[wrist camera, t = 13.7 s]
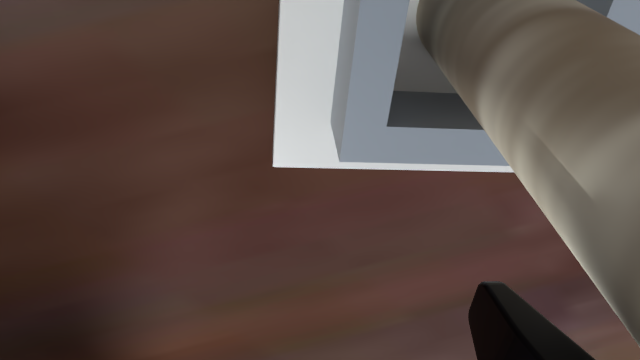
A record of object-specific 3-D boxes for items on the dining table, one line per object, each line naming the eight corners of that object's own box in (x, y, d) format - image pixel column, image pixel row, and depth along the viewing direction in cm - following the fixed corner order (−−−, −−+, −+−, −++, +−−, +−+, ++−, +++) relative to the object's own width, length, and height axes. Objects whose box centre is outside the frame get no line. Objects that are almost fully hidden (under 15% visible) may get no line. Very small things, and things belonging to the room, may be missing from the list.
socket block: (272, 154, 23) (274, 210, 20) (290, -254, 15) (298, -273, 12) (567, 161, 25) (613, 214, 22) (720, -201, 17) (829, -204, 14)
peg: (435, 81, 21) (648, 404, 9) (400, -14, 18) (623, 249, 7) (533, 36, 20) (905, 324, 8) (510, -68, 18) (966, 124, 6)
